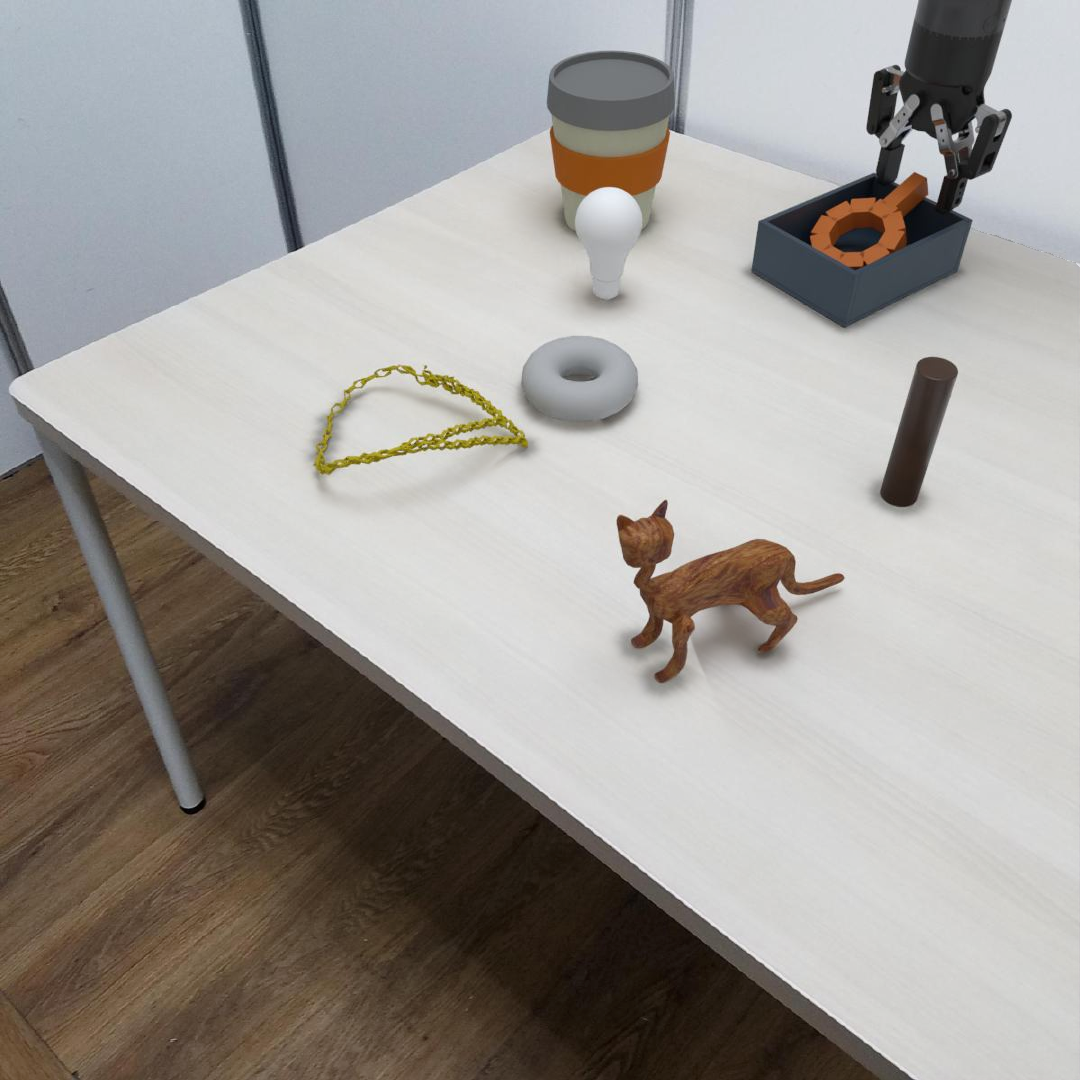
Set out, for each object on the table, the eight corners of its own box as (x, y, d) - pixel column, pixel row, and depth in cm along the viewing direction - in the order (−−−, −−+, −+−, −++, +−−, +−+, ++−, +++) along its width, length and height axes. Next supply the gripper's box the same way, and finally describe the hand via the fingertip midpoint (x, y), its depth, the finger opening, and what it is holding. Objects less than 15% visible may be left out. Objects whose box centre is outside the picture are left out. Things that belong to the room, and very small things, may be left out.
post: (907, 480, 84) (946, 353, 75) (923, 504, 82) (965, 377, 73) (873, 486, 83) (909, 359, 75) (889, 510, 81) (927, 382, 73)
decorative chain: (532, 445, 87) (531, 396, 84) (398, 530, 79) (392, 479, 76) (396, 381, 96) (391, 334, 93) (261, 451, 87) (251, 402, 84)
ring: (861, 296, 101) (858, 281, 99) (795, 257, 106) (791, 241, 105) (958, 209, 102) (957, 192, 100) (888, 174, 107) (886, 157, 105)
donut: (644, 367, 95) (534, 353, 96) (647, 335, 92) (534, 321, 94) (628, 438, 88) (509, 422, 89) (630, 405, 85) (509, 389, 87)
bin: (863, 221, 112) (874, 172, 108) (957, 271, 105) (973, 219, 101) (751, 271, 105) (758, 220, 102) (843, 327, 98) (855, 275, 95)
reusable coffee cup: (523, 217, 114) (519, 74, 103) (606, 178, 120) (610, 39, 109) (607, 261, 107) (612, 114, 96) (690, 218, 113) (704, 74, 102)
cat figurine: (814, 557, 78) (850, 409, 68) (869, 620, 74) (916, 470, 64) (593, 639, 73) (597, 490, 63) (638, 710, 68) (651, 563, 59)
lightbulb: (561, 303, 102) (561, 195, 94) (596, 274, 105) (599, 168, 98) (616, 323, 99) (620, 214, 92) (649, 293, 103) (657, 186, 95)
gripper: (1058, 31, 90) (1000, 214, 101) (923, -15, 98) (884, 159, 110) (1002, 53, 87) (948, 238, 98) (867, 3, 95) (832, 179, 107)
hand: (914, 196), depth 104 cm, fingers open, 6 cm apart
